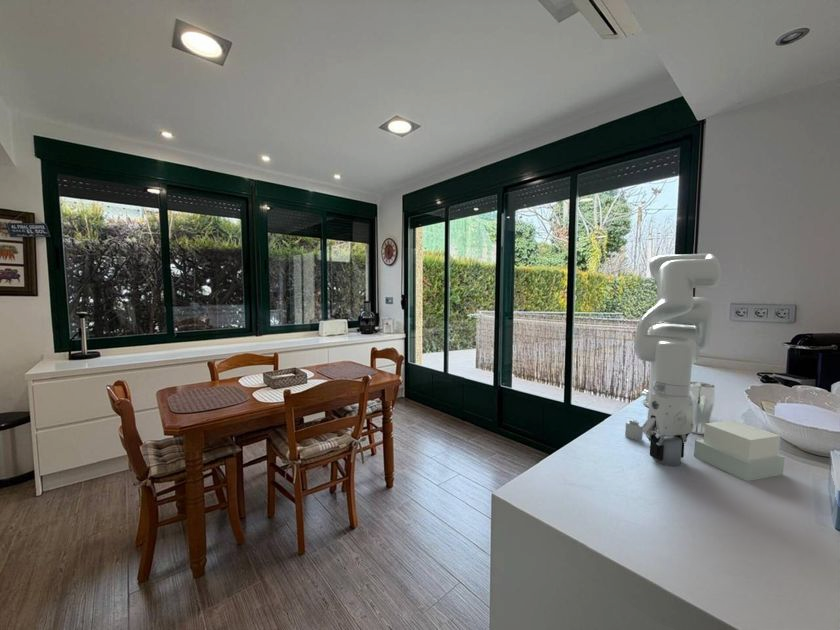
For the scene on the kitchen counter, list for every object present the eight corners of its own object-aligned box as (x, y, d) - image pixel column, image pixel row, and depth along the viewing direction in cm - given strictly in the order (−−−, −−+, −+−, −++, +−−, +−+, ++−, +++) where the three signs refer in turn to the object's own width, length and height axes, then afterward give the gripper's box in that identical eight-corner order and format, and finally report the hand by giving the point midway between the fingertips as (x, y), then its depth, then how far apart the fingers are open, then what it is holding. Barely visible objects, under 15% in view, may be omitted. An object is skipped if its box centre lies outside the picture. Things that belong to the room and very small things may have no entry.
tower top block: (703, 442, 89) (704, 423, 89) (731, 437, 92) (732, 419, 91) (748, 460, 80) (750, 440, 79) (778, 455, 82) (780, 435, 82)
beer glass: (701, 427, 110) (705, 381, 108) (718, 436, 103) (722, 388, 102) (678, 426, 110) (681, 381, 109) (693, 435, 103) (697, 387, 102)
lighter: (624, 436, 102) (626, 411, 101) (626, 435, 103) (628, 409, 103) (653, 444, 97) (654, 417, 96) (654, 442, 98) (656, 416, 98)
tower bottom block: (693, 458, 91) (695, 440, 90) (727, 453, 94) (728, 435, 93) (746, 483, 79) (748, 462, 79) (782, 476, 82) (784, 456, 82)
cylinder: (646, 456, 90) (647, 434, 90) (663, 453, 92) (664, 431, 92) (669, 467, 85) (670, 444, 84) (686, 464, 86) (687, 441, 86)
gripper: (657, 395, 81) (653, 468, 82) (712, 391, 85) (706, 460, 87) (631, 386, 88) (627, 453, 90) (682, 382, 92) (678, 446, 94)
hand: (666, 456), depth 88 cm, fingers closed on cylinder, 6 cm apart
